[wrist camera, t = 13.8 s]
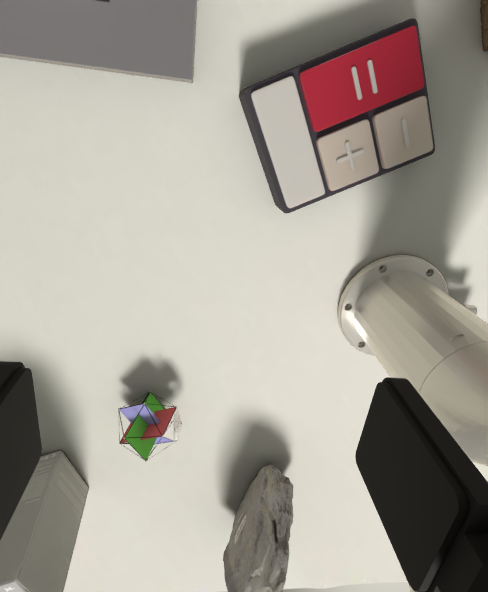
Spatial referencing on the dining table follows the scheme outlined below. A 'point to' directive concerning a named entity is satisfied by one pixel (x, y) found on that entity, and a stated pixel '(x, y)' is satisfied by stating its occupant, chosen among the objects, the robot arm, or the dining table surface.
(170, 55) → the socket plate
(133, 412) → the geometric puzzle
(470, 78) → the dining table surface
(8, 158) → the dining table surface
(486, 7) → the box
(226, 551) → the decorative rock
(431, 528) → the robot arm
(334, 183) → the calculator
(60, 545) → the skincare box
